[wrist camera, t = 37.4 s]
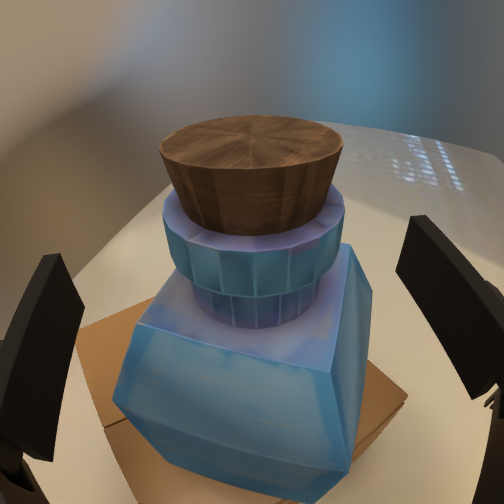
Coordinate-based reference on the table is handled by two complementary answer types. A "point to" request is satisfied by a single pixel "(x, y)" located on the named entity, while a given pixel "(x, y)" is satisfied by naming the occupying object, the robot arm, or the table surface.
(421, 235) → the robot arm
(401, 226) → the table surface
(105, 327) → the flap
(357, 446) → the carton
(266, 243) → the perfume bottle
